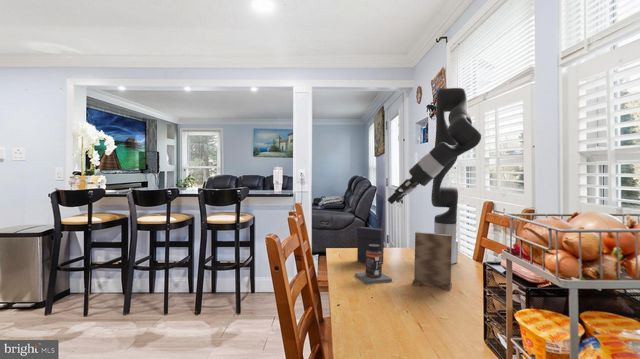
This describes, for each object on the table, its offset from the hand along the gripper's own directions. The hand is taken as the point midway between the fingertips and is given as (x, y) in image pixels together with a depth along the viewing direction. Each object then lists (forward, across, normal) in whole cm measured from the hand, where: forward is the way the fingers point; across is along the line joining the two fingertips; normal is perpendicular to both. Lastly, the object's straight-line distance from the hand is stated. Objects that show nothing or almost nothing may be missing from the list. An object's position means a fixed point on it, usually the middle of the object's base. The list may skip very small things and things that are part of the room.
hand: (392, 201), depth 121 cm
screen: (+11, -2, +30) cm, 32 cm away
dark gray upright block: (+31, -20, +11) cm, 39 cm away
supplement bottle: (+24, 0, +15) cm, 29 cm away
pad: (+25, 0, +16) cm, 30 cm away
